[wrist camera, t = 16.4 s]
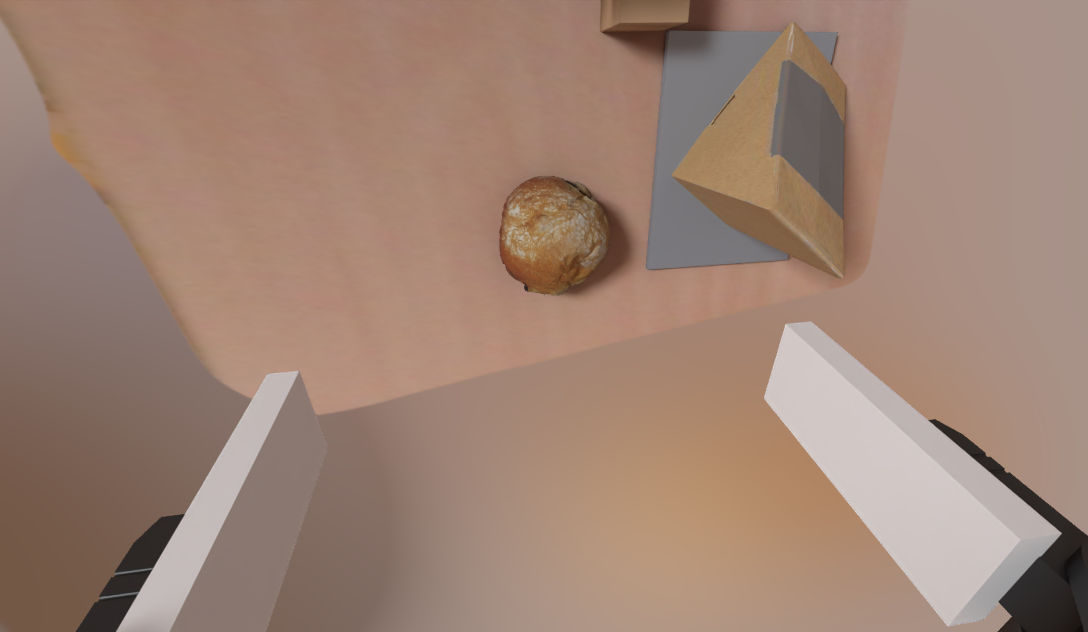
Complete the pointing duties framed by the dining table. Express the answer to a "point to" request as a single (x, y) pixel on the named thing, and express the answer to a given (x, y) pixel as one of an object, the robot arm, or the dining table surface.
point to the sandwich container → (778, 155)
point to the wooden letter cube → (642, 15)
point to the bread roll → (552, 234)
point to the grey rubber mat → (685, 111)
